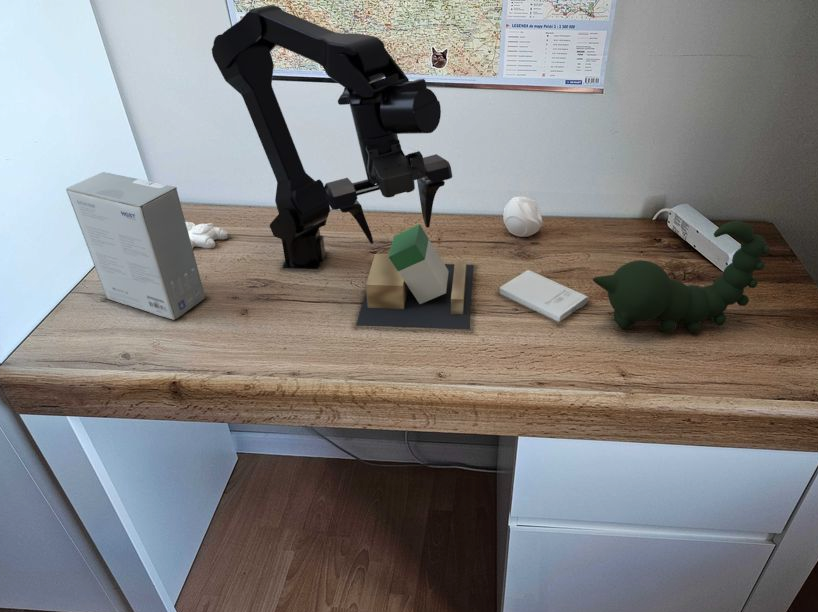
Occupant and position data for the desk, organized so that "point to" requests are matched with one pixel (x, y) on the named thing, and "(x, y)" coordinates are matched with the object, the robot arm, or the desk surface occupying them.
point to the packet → (419, 264)
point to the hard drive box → (138, 243)
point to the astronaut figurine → (204, 234)
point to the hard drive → (543, 295)
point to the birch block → (385, 285)
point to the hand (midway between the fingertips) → (399, 234)
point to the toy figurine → (684, 287)
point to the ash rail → (458, 287)
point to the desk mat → (423, 309)
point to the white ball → (522, 217)
